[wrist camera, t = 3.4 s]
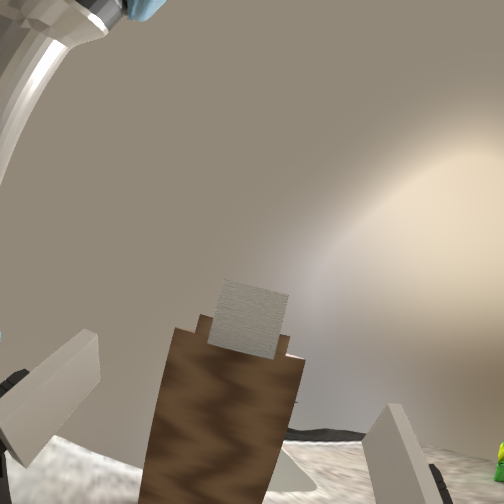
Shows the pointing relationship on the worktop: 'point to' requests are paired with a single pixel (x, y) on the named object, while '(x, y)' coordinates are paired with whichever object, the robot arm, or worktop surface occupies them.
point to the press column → (218, 421)
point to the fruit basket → (500, 465)
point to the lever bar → (248, 319)
